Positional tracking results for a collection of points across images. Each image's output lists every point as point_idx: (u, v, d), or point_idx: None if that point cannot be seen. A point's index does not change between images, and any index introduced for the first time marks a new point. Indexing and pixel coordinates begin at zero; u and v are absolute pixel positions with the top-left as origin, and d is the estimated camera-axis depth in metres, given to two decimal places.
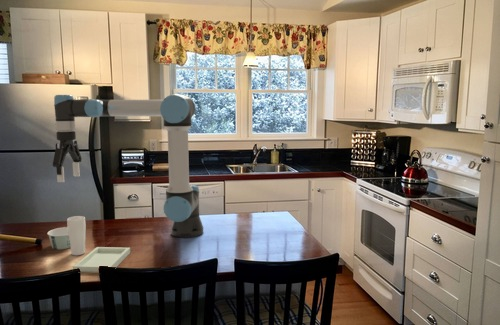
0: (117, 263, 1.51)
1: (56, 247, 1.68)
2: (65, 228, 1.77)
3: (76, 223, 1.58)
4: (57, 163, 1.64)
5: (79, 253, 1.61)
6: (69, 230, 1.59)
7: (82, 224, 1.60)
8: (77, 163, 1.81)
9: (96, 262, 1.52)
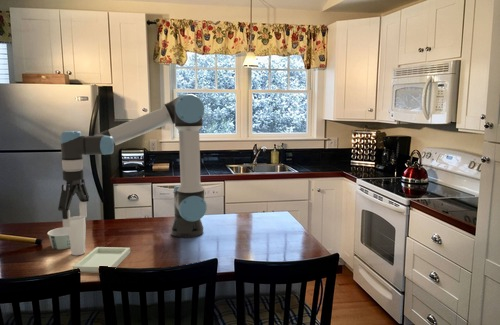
0: (117, 263, 1.51)
1: (56, 247, 1.68)
2: (65, 228, 1.77)
3: (76, 223, 1.58)
4: (63, 207, 1.50)
5: (79, 253, 1.61)
6: (69, 230, 1.59)
7: (82, 224, 1.60)
8: (84, 203, 1.67)
9: (96, 262, 1.52)
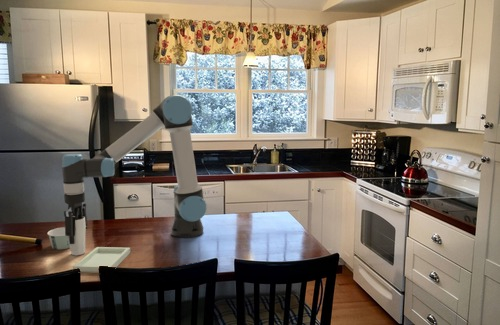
0: (117, 263, 1.51)
1: (56, 247, 1.68)
2: None
3: (75, 222, 1.58)
4: (70, 233, 1.55)
5: (79, 253, 1.61)
6: None
7: (82, 224, 1.60)
8: None
9: (96, 262, 1.52)
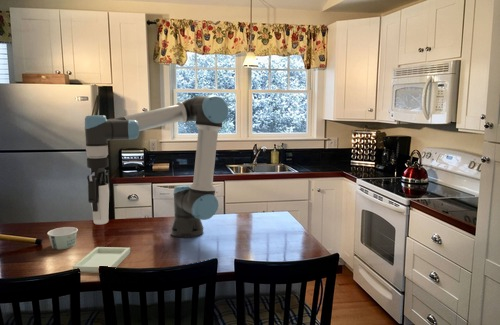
0: (117, 263, 1.51)
1: (56, 247, 1.68)
2: (65, 228, 1.77)
3: (99, 188, 1.47)
4: (93, 199, 1.44)
5: (102, 222, 1.50)
6: None
7: (106, 191, 1.49)
8: None
9: (96, 262, 1.52)
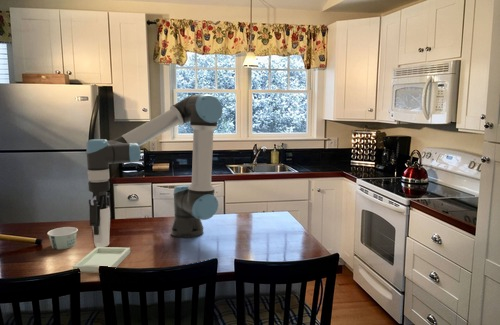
0: (117, 263, 1.51)
1: (56, 247, 1.68)
2: (65, 228, 1.77)
3: (100, 212, 1.49)
4: (95, 223, 1.46)
5: (103, 245, 1.51)
6: None
7: (107, 214, 1.50)
8: None
9: (96, 262, 1.52)
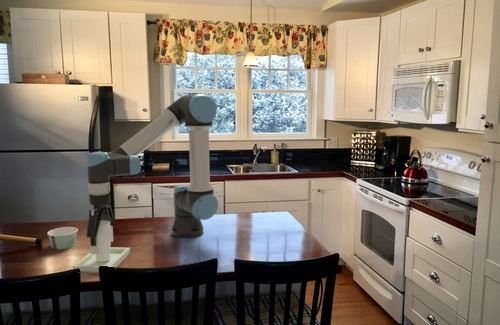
0: (117, 263, 1.51)
1: (56, 247, 1.68)
2: (65, 228, 1.77)
3: (101, 228, 1.49)
4: (92, 234, 1.43)
5: (105, 260, 1.52)
6: None
7: (107, 229, 1.51)
8: (110, 227, 1.59)
9: (96, 262, 1.52)
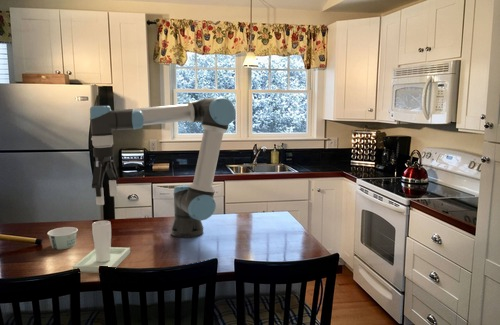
0: (117, 263, 1.51)
1: (56, 247, 1.68)
2: (65, 228, 1.77)
3: (101, 228, 1.50)
4: (97, 184, 1.45)
5: (105, 260, 1.52)
6: (94, 236, 1.50)
7: (108, 229, 1.51)
8: (114, 181, 1.61)
9: (96, 262, 1.52)
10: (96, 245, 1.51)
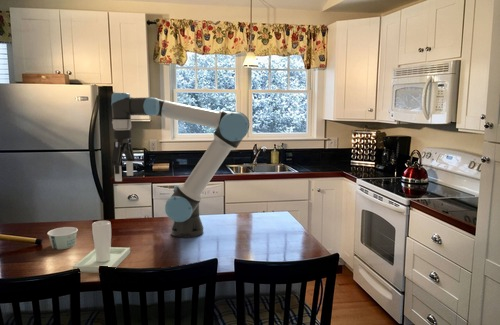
0: (117, 263, 1.51)
1: (56, 247, 1.68)
2: (65, 228, 1.77)
3: (101, 228, 1.49)
4: (116, 162, 1.62)
5: (105, 260, 1.52)
6: (94, 236, 1.50)
7: (108, 229, 1.51)
8: (131, 162, 1.79)
9: (96, 262, 1.52)
10: (96, 245, 1.51)
